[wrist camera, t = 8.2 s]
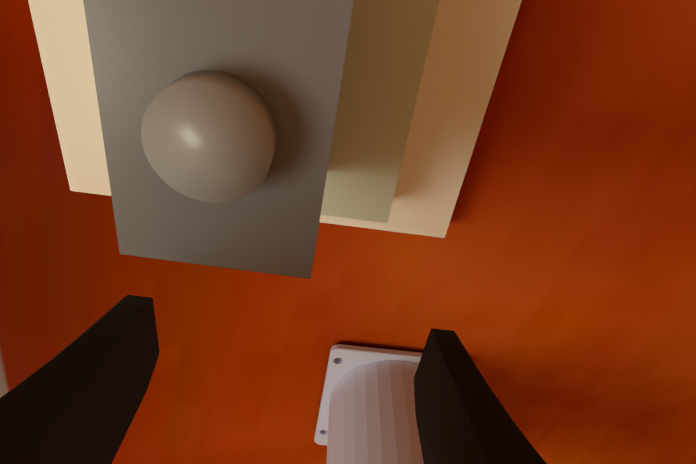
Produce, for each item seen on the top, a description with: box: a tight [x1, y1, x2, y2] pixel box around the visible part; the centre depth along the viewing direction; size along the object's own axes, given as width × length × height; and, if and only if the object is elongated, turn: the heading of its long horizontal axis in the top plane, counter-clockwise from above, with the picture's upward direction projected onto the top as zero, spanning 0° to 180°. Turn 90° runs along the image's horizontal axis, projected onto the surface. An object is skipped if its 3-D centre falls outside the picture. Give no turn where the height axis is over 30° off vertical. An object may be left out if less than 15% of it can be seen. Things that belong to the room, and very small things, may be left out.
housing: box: [83, 0, 354, 279], centre depth 11 cm, size 5×7×7 cm, turn 170°
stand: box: [28, 0, 522, 238], centre depth 15 cm, size 13×16×3 cm
